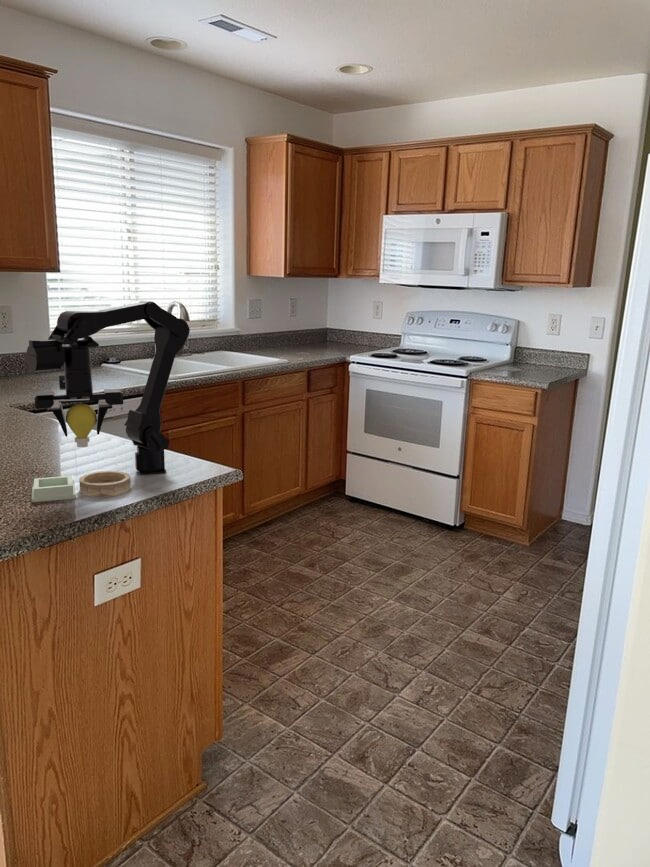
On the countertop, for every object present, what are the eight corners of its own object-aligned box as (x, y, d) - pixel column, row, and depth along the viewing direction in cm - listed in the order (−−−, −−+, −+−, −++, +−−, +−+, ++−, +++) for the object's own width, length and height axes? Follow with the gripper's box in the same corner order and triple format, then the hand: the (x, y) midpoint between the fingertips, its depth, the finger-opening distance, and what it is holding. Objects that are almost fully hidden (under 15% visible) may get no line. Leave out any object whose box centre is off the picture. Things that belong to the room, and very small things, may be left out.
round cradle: (127, 480, 161) (127, 469, 161) (132, 494, 151) (132, 482, 151) (79, 484, 157) (78, 473, 157) (81, 499, 147) (80, 487, 147)
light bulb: (102, 446, 155) (101, 404, 153) (75, 451, 151) (73, 407, 148) (89, 441, 160) (87, 400, 158) (61, 445, 155) (59, 402, 153)
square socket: (74, 486, 156) (73, 474, 155) (76, 498, 148) (75, 486, 147) (32, 489, 153) (31, 478, 152) (31, 502, 145) (30, 490, 144)
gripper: (118, 361, 161) (122, 425, 165) (34, 364, 155) (40, 429, 159) (121, 368, 151) (125, 435, 155) (31, 371, 145) (37, 441, 149)
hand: (82, 435), depth 155 cm, fingers closed on light bulb, 6 cm apart
